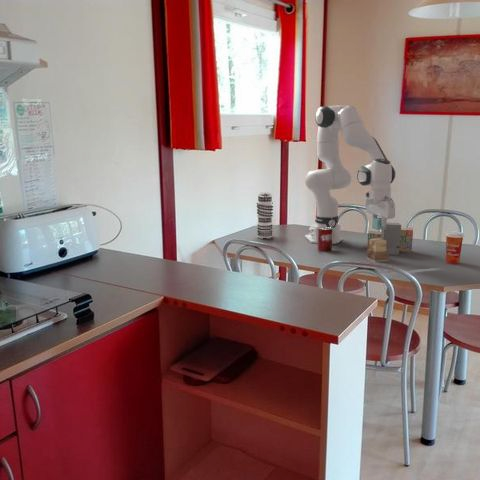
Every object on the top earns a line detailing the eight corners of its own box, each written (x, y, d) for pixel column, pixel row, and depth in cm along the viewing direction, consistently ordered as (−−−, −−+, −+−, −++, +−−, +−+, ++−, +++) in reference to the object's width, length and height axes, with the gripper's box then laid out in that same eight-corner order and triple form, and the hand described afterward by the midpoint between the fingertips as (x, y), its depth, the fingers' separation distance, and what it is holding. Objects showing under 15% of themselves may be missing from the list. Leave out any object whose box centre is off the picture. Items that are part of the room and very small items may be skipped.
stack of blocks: (366, 251, 267) (368, 227, 265) (368, 248, 273) (369, 224, 270) (411, 254, 260) (413, 230, 258) (411, 251, 266) (413, 227, 263)
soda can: (314, 250, 269) (315, 227, 267) (327, 249, 272) (328, 226, 269) (321, 253, 263) (322, 230, 260) (334, 252, 265) (335, 228, 262)
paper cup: (440, 262, 246) (442, 232, 242) (447, 259, 251) (450, 230, 248) (457, 265, 240) (459, 235, 237) (464, 262, 246) (467, 232, 242)
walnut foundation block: (366, 257, 251) (367, 249, 250) (380, 256, 253) (380, 248, 252) (374, 261, 245) (375, 252, 244) (388, 260, 247) (388, 251, 246)
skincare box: (382, 256, 257) (383, 224, 253) (379, 252, 263) (381, 221, 260) (400, 256, 256) (402, 224, 252) (396, 253, 263) (398, 221, 259)
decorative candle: (256, 235, 304) (256, 191, 298) (272, 235, 304) (273, 191, 298) (256, 238, 295) (256, 194, 290) (273, 238, 295) (273, 194, 289)
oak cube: (369, 249, 250) (369, 239, 249) (379, 248, 251) (380, 238, 250) (375, 252, 245) (375, 241, 243) (385, 251, 246) (386, 240, 245)
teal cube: (372, 228, 247) (372, 218, 246) (380, 227, 248) (381, 217, 247) (377, 229, 243) (377, 220, 242) (386, 229, 244) (386, 219, 243)
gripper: (399, 198, 233) (397, 228, 236) (375, 191, 252) (374, 220, 255) (386, 198, 231) (385, 229, 234) (363, 192, 250) (362, 221, 254)
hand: (379, 224), depth 245 cm, fingers closed on teal cube, 4 cm apart
